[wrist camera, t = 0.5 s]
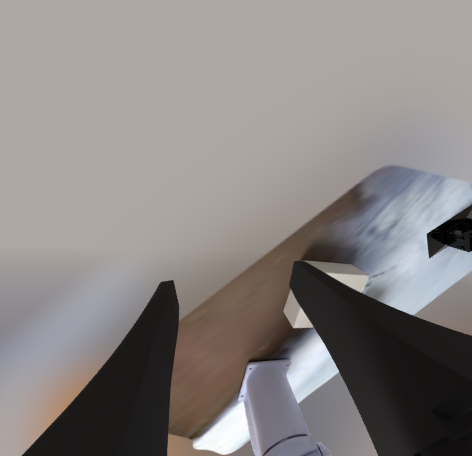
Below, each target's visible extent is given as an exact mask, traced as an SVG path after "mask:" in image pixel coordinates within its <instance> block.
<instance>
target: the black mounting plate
mask: <svg viewBox="0 0 472 456" xmlns="http://www.w3.org/2000/svg"><path fill="white" fill-rule="evenodd" d="M427 243H428V252H429V258H431V257H433V256H434V255H436V254H437V253H439V252H440V251H442V250H443V249H445V248H446V247H448V246H450V247H453V248H457V249H460V250H463V251H467V252H470V251H472V205H471V206H469V207H468V208H466V209H465V210H463V211H462V212H460V213H458V214H457V215H455V216H454V217H452V218H451V219H449V220H448V221H446V222H444V223H443V224H441V225H440V226H438V227H437V228H435V229H434V230H432V231H430V232H429V233H427ZM459 246H460V247H459Z"/></svg>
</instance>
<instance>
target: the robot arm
mask: <svg viewBox="0 0 472 456" xmlns="http://www.w3.org/2000/svg"><path fill="white" fill-rule="evenodd" d="M289 286H290V288H291V290H292V293H293V295H294V297H295V299H296V301H297V302H298V304H299V305H300V307H301V308H302V310H303V312H304V313H305V315H306V316H307V318H308V319H309V321H310V322H311V324H312V325H313V327H314V328H315V330H316V331H317V333H318V334H319V336H320V337H321V339H322V341H323V342H324V344H325V346H326V348H327V349H328V351H329V353H330V355H331V357H332V359H333V360H334V362H335V364H336V366H337V368H338V370H339V372H340V374H341V376H342V378H343V380H344V382H345V384H346V385H347V388H348V390H349V392H350V394H351V396H352V398H353V400H354V402H355V404H356V406H357V409H358V410H359V413H360V415H361V417H362V420H363V422H364V424H365V426H366V428H367V431H368V433H369V435H370V437H371V439H372V442H373V444H374V447H375V449H376V451H377V454H378V456H472V336H471V335H467V334H464V333H461V332H457V331H454V330H451V329H449V328H446V327H443V326H440V325H437V324H434V323H431V322H428V321H426V320H423V319H420V318H417V317H415V316H413V315H410V314H408V313H405V312H403V311H400V310H398V309H395V308H393V307H390V306H388V305H386V304H384V303H382V302H379V301H377V300H375V299H373V298H371V297H369V296H367V295H365V294H362V293H361V292H359V291H357V290H355V289H353V288H351V287H349V286H347V285H345V284H344V283H342V282H340V281H338V280H336V279H335V278H333V277H331V276H330V275H328V274H326V273H324V272H323V271H321V270H319V269H318V268H316V267H314V266H312V265H311V264H309V263H307V262H305V261H303V260H302V261H295V262H294V265H293V270H292V275H291V280H290V285H289ZM178 325H179V304H178V299H177V295H176V290H175V285H174V281H173V280H171V281H165V282H161V283H160V284H159V286H158V288H157V289H156V291H155V293H154V295H153V296H152V298H151V300H150V301H149V303H148V304H147V306H146V308H145V309H144V311H143V312H142V314H141V315H140V317H139V318H138V320H137V321H136V323H135V324H134V326H133V327H132V329H131V330H130V331H129V333H128V334H127V335H126V337H125V338H124V340H123V341H122V342H121V344H120V345H119V346H118V348H117V349H116V350H115V351H114V353H113V354H112V355H111V357H110V358H109V359H108V360H107V362H106V363H105V364H104V365H103V366H102V368H101V369H100V370H99V371H98V373H97V374H96V375H95V376H94V377H93V378H92V380H91V381H90V382H89V383H88V384H87V386H86V387H85V388H84V389H83V390H82V391H81V392H80V394H79V395H78V396H77V397H76V398H75V399H74V400H73V402H72V403H71V404H70V405H69V406H68V407H67V408H66V409H65V410H64V411H63V413H62V414H61V415H60V416H59V417H58V418H57V419H56V420H55V421H54V422H53V423H52V424H51V425H50V427H48V428H47V429H46V431H45V432H44V433H43V434H42V435H41V436H40V437H39V438H38V439H37V440H36V441H35V442H34V443H33V444H32V445H31V447H30V448H29V449H28V450H27V451H26V452H25V453H24V454H23V455H22V456H167V445H168V424H169V405H170V388H171V378H172V370H173V363H174V355H175V348H176V341H177V333H178ZM290 364H291V362H290V360H289V359H287V360H274V361H261V362H250V363H249V364H248V365H247V369H246V372H245V376H244V379H243V382H242V386H241V389H240V393H239V396H238V401H244V406H245V411H246V417H247V422H248V427H249V433H250V438H251V444H252V447H253V451H254V454H255V456H332V454H331V453H330V451H329V449H328V448H327V447H326V446H324V445H323V444H322V443H321V442H318V443H317V444H316V442H315V439H314V437H313V435H312V434H311V435H310V433H309V430H308V428H307V426H306V423H305V421H304V418H303V416H302V414H301V411H300V409H299V406H298V404H297V401H296V399H295V396H294V394H293V392H292V389H291V387H290V384H289V382H288V379H287V377H286V374H287V371H288V369H289V366H290Z"/></svg>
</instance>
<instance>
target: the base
mask: <svg viewBox="0 0 472 456" xmlns="http://www.w3.org/2000/svg"><path fill="white" fill-rule="evenodd" d="M300 261H302V260H300ZM303 261H305V262H307V263H309V264H311V265H312V266H314V267H316V268H318V269H319V270H321V271H323V272H324V273H326V274H328V275H330V276H331V277H333V278H335V279H336V280H338V281H340V282H342V283H344V284H345V285H347V286H349V287H351V288H353V289H355V290H357V291H359V292H361V293H362V291H363V289H364V287H365V285H366V283H367V281H368V278H369V275H368V274H366V273H365V272H363V271H361V270H360V269H358V268H357V267H355V266H353V265H352V264H341V263H329V262H317V261H306V260H303ZM283 312H284V313H285V315H286V317H287V318H288V320H289V322H290V324H291V325H292V327H293V328H314V327H313V325H312V324H311V322H310V321H309V319H308V318H307V316H306V315H305V313H304V312H303V310H302V308H301V307H300V305H299V304H298V302H297V301H296V299H295V297H294V295H293V293H292V290H290V293H289V296H288V299H287V302H286V305H285V308H284V311H283Z"/></svg>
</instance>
